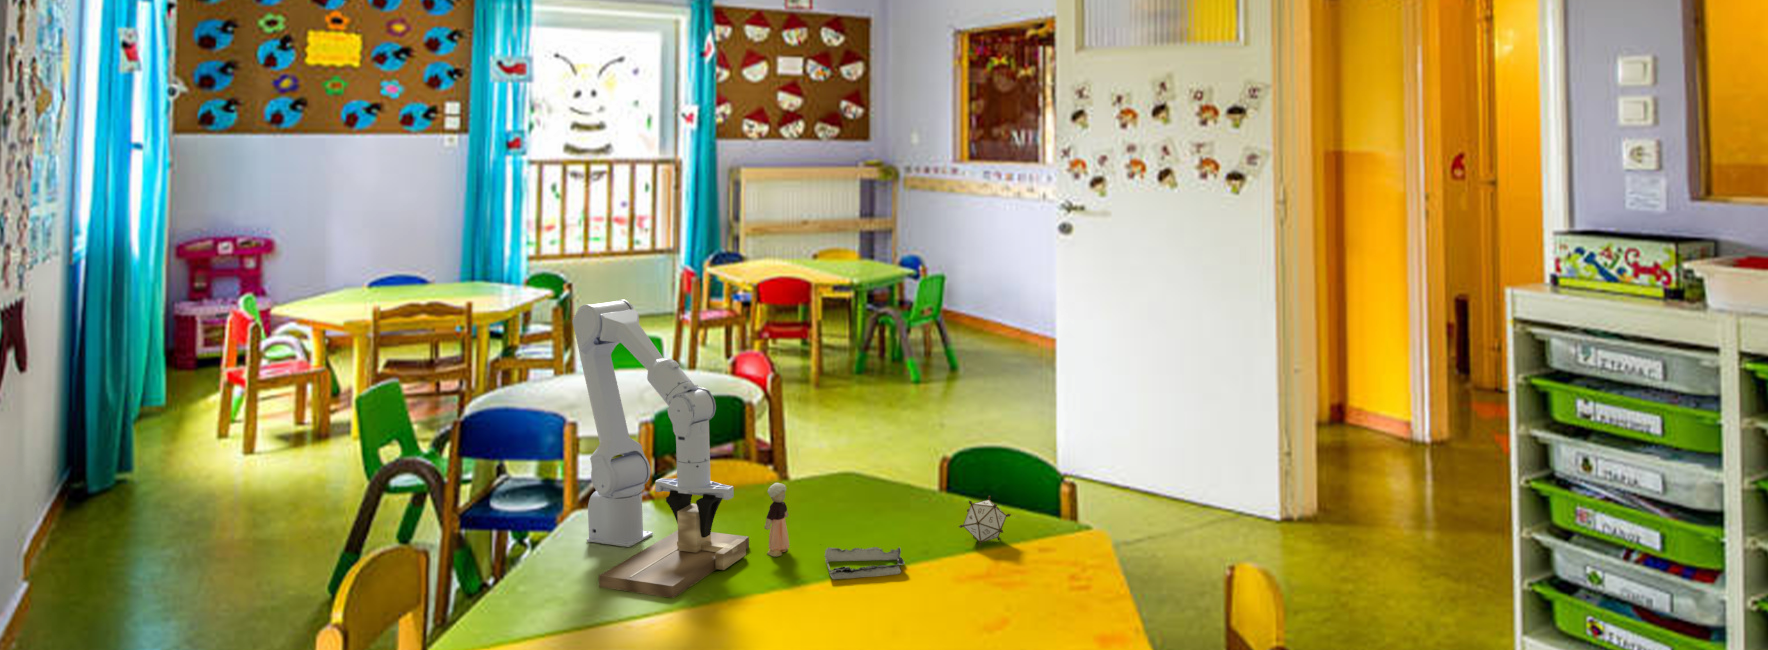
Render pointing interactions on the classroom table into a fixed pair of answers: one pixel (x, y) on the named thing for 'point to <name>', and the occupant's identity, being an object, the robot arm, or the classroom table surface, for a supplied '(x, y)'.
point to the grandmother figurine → (777, 521)
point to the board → (664, 567)
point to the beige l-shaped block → (705, 539)
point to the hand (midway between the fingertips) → (695, 534)
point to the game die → (984, 520)
